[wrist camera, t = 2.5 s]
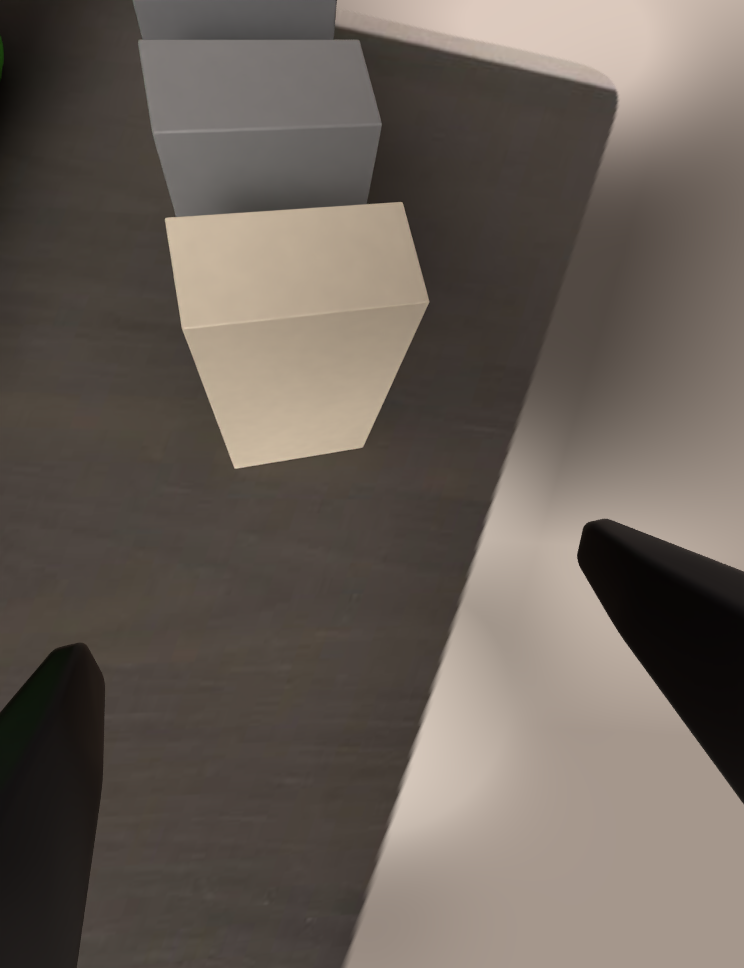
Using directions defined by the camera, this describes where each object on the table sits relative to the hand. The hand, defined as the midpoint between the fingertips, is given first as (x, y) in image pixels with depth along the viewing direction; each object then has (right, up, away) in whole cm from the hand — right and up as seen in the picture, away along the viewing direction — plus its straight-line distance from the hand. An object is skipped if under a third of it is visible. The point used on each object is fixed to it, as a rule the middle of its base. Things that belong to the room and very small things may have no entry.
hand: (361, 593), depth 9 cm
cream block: (-3, +5, +15) cm, 16 cm away
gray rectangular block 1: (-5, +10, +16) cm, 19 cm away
